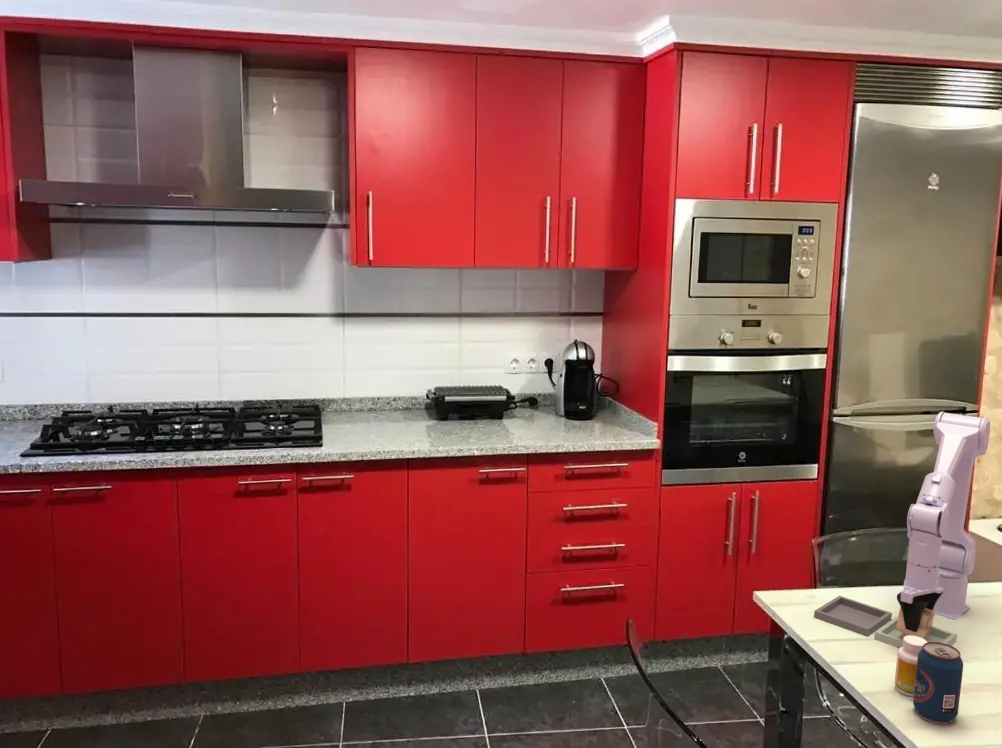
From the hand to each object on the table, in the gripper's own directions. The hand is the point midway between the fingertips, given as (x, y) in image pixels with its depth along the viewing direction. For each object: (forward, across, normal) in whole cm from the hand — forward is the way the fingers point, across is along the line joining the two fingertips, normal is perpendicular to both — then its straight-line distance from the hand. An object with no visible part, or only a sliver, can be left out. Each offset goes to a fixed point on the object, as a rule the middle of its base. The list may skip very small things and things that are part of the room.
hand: (916, 625), depth 171 cm
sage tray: (+3, 0, 0) cm, 3 cm away
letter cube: (+2, 0, +1) cm, 2 cm away
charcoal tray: (+3, 0, +13) cm, 13 cm away
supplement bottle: (+4, -20, -7) cm, 21 cm away
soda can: (+4, -25, -13) cm, 28 cm away
